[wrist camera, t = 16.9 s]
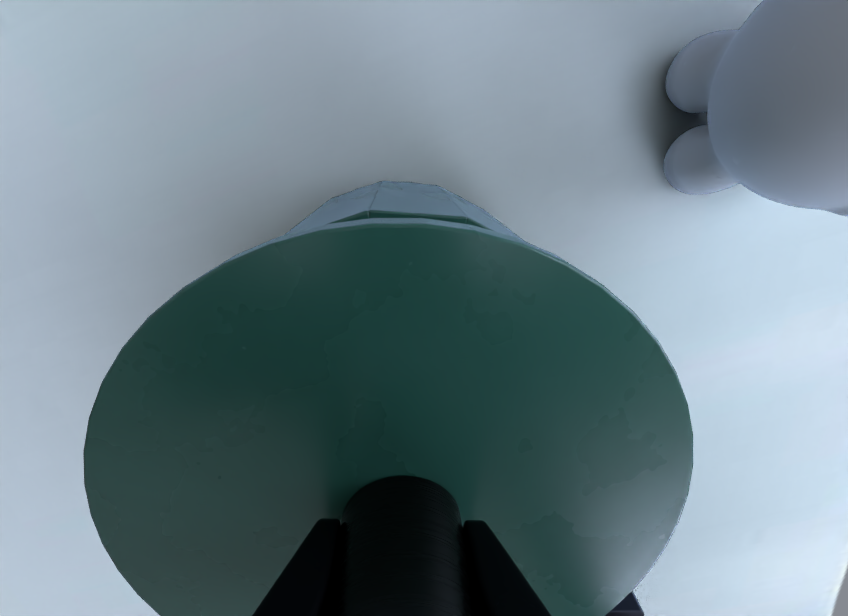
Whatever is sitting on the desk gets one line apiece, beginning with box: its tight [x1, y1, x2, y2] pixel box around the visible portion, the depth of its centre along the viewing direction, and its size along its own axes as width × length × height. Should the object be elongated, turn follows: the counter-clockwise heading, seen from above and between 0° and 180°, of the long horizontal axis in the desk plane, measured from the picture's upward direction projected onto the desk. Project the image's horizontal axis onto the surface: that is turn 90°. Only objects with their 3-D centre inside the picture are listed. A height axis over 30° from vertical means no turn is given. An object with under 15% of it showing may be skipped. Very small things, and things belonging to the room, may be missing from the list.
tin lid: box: [84, 218, 693, 616], centre depth 7 cm, size 12×12×5 cm
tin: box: [283, 181, 524, 241], centre depth 15 cm, size 11×11×8 cm
